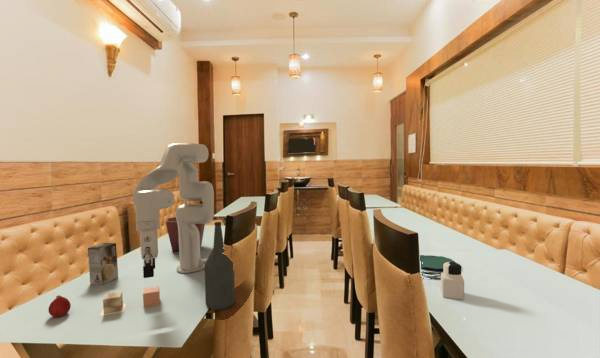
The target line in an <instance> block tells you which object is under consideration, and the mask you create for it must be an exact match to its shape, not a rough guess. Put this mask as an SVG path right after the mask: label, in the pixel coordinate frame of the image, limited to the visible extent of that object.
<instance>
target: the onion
mask: <svg viewBox="0 0 600 358" xmlns="http://www.w3.org/2000/svg"><path fill="white" fill-rule="evenodd" d="M55 297H56V298H54V300H52V301H51V302H50V304H49V306H48V313H49V315H50V316H52V317H53V318H61V317H64V316H66V315H67V314H68V313H69V311H70V310H71V307H72V305H71V302H70V300H69V299H68V298H66V297H65V296H61V294H60V295H59V294H58V295H56V296H55Z"/></svg>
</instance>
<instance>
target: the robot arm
mask: <svg viewBox="0 0 600 358" xmlns="http://www.w3.org/2000/svg"><path fill="white" fill-rule="evenodd" d="M209 154H210V153H209V149H208V147H207V146H206V144H202V143H201V144H200V143H193V142H189V143H188V142H181V143H179V142H177V143H176V142H175V143H171V144H169V145H168V146H167V147H166V148H165V150H164V152H163V155H162V156H161V159H160V162H159V164H158V166H157V167H156V168H154V169H153V170H151V171H149V172H148V173H146V174H145V175H144V176H142V177H141V178H140V179H139V181H138V183H137V184H136V187H135V188H134V191H133V194H132V203H133V206H134V207H135V229H136V232H139V235H140V236H139V237H140V240H139V241H140V242H139V243H140V254H141V259H142V260H143V266H142V271H143V272H142V273H143V275H142V276H143V279H148V278H154V277H155V270H154V269H156V259H157V258H158V255H159V247H158V245H159V243H158V242H159V241H158V230H159V229H160V226H161V225H160V221H161V220H160V209H161V210H163V209H167V208H170V207H171V206H172V205H173V204H174V202H175V194H174V192H173V191H172V190H170V189H167V188H156V187H158V186H160V185H163V184H166V183H168V182H171V181H173V180H175V179H177V178H178V177H179V188H178V189H179V198H180V199H181V200H182V201H183V202H202V203H185V204H180V205H179V206H177V208H176V209H175V217H176V220H177V224H178V233H179V253H178V254H179V265H178V266H177V267H176V272H178V273H182V274H189V273H196V272H200V271H201V270H203V269H204V264H205V262H206V260H207V258H204V259H203V258H202V257H201V248H200V234H199V230H198V228H197V227H196V226H195V224H205V225H206V224H210V223H212V222H213V220H214V217H215V216H214V214H215V213H214V212H215V210H214V209H215V207H214V206H215V205H214V204H215V192H214V187H213V184H212V183H211V182H210V181H205V180H203V181H199V171H198V169H197V168H196V166H195V164H196V163H199V164H200V163H205V162H207V160H208V159H209ZM194 163H195V164H194Z"/></svg>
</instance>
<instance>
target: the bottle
mask: <svg viewBox="0 0 600 358" xmlns="http://www.w3.org/2000/svg"><path fill="white" fill-rule="evenodd" d="M213 232H214V234H213V247H212V250H211V251H210V253H209V255H208V257H207V258H206V259H207V260H206V262H205V264H204V268H203V269H204V291H205V292H204V294H205V295H204V296H205V305H206V307H207V309H209V310H213V311H220V310H226V309H228V308H230V307H232V306H233V304H234V303H235V300H236V290H235V289H236V287H235V270H234V271H233V262H232V261H231V260H230V259H229V258H228V257H227V256H226V255H224V254H222V253H223V252H224V251H225V250H224V249H223V247H224V248H225V243H224V237H223V230H222V221H216V222H214V231H213Z"/></svg>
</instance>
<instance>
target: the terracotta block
mask: <svg viewBox="0 0 600 358" xmlns="http://www.w3.org/2000/svg"><path fill="white" fill-rule="evenodd" d="M160 295H161V294H160V286H159V285H158V286H152V287H145V288H143V292H142V299H143V300H142V301H143V302H142V303H143V308H148V307H153V306H158V305H160V300H161V298H160Z"/></svg>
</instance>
